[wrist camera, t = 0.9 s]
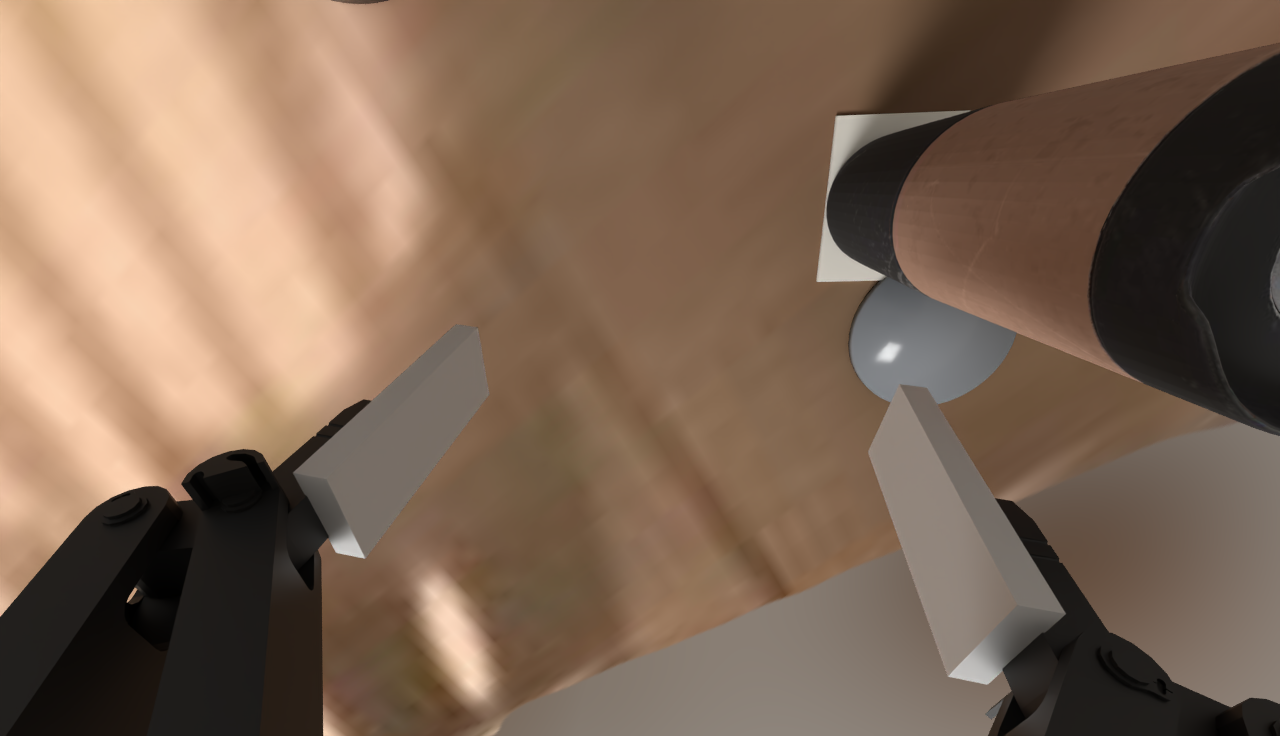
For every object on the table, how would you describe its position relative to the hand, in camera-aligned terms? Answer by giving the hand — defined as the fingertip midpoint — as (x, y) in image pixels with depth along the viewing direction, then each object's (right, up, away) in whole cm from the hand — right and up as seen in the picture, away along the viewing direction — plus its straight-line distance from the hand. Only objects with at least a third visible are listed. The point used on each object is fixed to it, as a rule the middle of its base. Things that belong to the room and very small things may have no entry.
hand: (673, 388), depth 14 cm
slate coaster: (+17, +3, +14) cm, 23 cm away
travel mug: (+13, +10, +12) cm, 20 cm away
